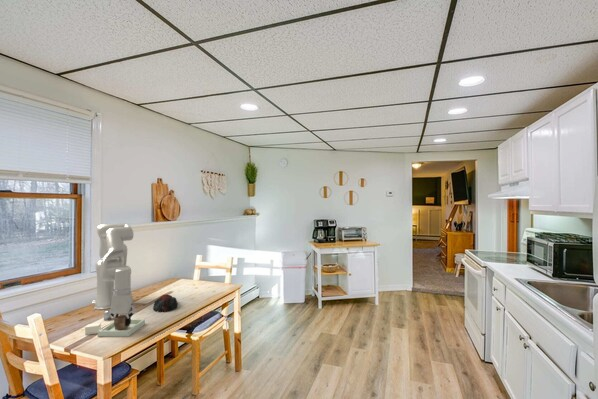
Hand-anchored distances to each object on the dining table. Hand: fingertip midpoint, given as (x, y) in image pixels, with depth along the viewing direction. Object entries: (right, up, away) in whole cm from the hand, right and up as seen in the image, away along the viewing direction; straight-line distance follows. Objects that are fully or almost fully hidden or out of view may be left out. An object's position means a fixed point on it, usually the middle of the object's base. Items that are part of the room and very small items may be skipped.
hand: (122, 324), depth 160 cm
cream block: (-14, -3, -3) cm, 15 cm away
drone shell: (+7, -4, +37) cm, 38 cm away
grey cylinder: (-18, -3, +15) cm, 23 cm away
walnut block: (0, -1, 0) cm, 1 cm away
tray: (0, -3, 0) cm, 3 cm away
